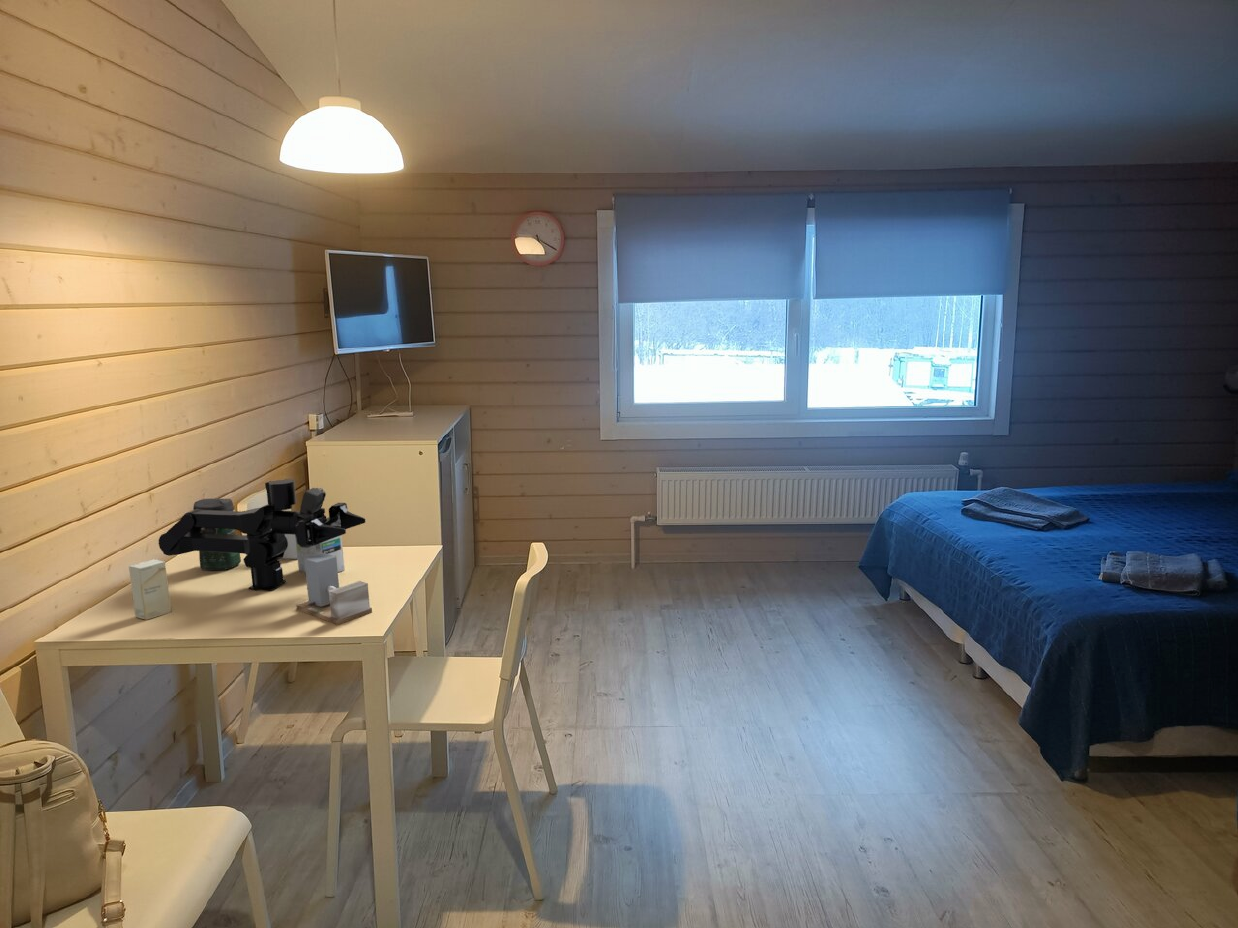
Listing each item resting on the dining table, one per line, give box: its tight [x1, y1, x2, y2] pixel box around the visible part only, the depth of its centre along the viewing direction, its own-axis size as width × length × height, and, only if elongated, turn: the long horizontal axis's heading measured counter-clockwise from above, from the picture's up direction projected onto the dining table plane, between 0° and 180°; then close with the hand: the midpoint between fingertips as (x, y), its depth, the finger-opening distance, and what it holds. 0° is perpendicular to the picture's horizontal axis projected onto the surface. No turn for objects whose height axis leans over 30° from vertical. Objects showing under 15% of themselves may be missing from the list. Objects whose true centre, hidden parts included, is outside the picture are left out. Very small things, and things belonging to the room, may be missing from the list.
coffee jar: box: [192, 498, 242, 571], centre depth 228 cm, size 10×8×19 cm
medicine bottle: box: [281, 534, 298, 560], centre depth 237 cm, size 7×7×12 cm
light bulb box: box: [295, 535, 346, 573], centre depth 224 cm, size 11×7×11 cm, turn 58°
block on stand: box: [295, 580, 373, 626], centre depth 196 cm, size 16×9×7 cm, turn 52°
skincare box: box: [128, 558, 172, 621], centre depth 196 cm, size 6×4×12 cm
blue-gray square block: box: [304, 553, 340, 607], centre depth 197 cm, size 6×6×10 cm
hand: (355, 525), depth 205 cm, fingers open, 9 cm apart
